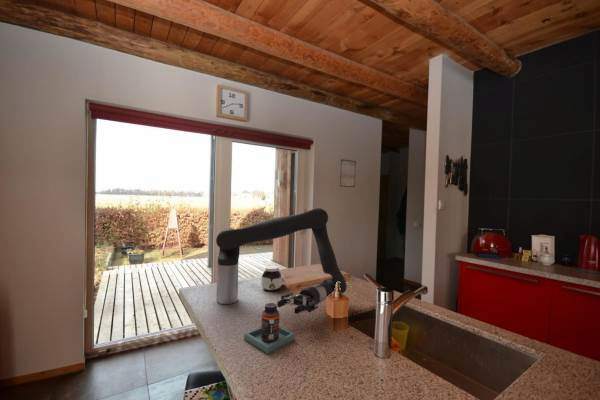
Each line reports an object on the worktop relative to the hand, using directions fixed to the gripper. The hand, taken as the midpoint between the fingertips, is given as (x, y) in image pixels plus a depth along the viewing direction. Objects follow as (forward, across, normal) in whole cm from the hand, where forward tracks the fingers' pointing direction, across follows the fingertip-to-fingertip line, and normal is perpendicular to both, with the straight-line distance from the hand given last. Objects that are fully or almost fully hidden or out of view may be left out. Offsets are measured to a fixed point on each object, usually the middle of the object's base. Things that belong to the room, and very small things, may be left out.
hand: (286, 307), depth 99 cm
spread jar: (-30, -36, +9) cm, 47 cm away
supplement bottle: (+8, 0, +8) cm, 11 cm away
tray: (+8, 0, +8) cm, 12 cm away
